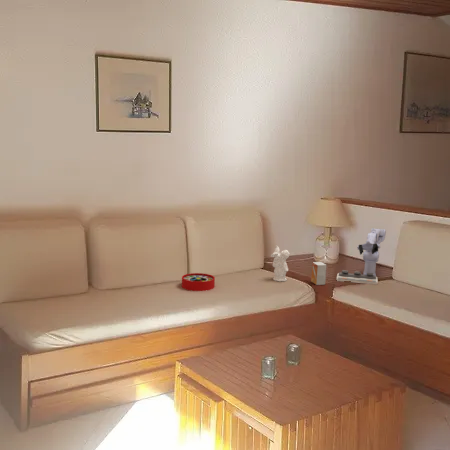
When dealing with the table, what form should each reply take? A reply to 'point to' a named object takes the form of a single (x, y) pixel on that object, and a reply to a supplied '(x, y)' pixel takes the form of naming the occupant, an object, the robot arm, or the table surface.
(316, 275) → the small box
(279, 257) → the cherub figurine
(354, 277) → the switch panel
